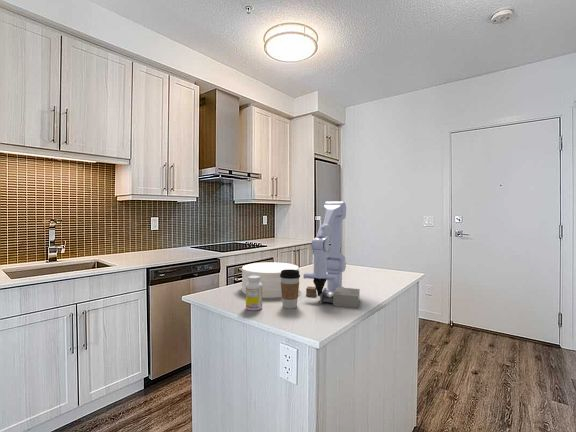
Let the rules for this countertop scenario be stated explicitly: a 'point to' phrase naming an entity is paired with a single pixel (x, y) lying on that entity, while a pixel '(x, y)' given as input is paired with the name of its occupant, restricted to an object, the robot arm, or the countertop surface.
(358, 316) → the countertop surface
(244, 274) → the plate stack
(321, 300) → the tray
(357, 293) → the block
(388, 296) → the countertop surface
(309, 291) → the brown cube
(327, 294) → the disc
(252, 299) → the supplement bottle
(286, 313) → the countertop surface
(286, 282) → the coffee cup
